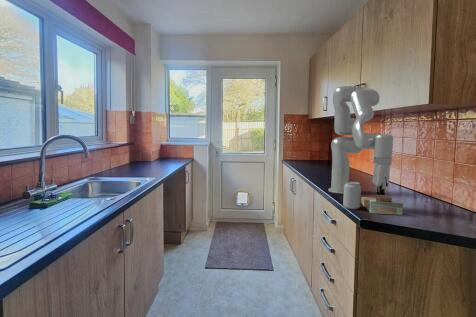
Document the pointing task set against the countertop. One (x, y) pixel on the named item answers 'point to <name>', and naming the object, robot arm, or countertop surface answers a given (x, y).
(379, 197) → the block
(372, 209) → the deck
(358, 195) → the can
